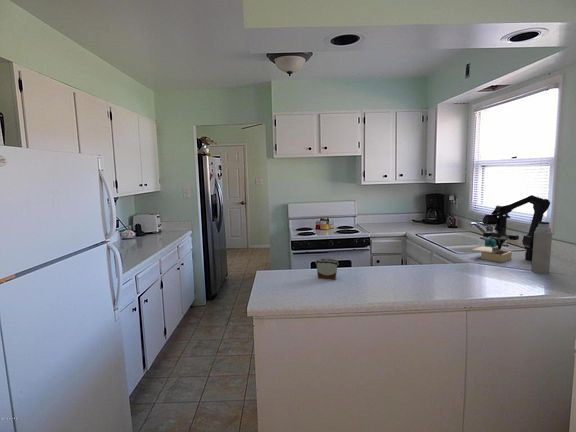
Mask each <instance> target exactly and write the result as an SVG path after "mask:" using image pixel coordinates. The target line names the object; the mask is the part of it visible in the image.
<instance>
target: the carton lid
mask: <svg viewBox="0 0 576 432" xmlns="http://www.w3.org/2000/svg"><path fill="white" fill-rule="evenodd" d="M481 246H482V247H480V246H478V247H475V248H472V249H471V250H472V252H473V251H475V252H480V253H481V252H487V253H495V252H498V251H501V250H503V251H504V249H503V248H501V249H499V248H498V246H496V247H492V248H491V247H484V246H485V245H481Z"/></svg>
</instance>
